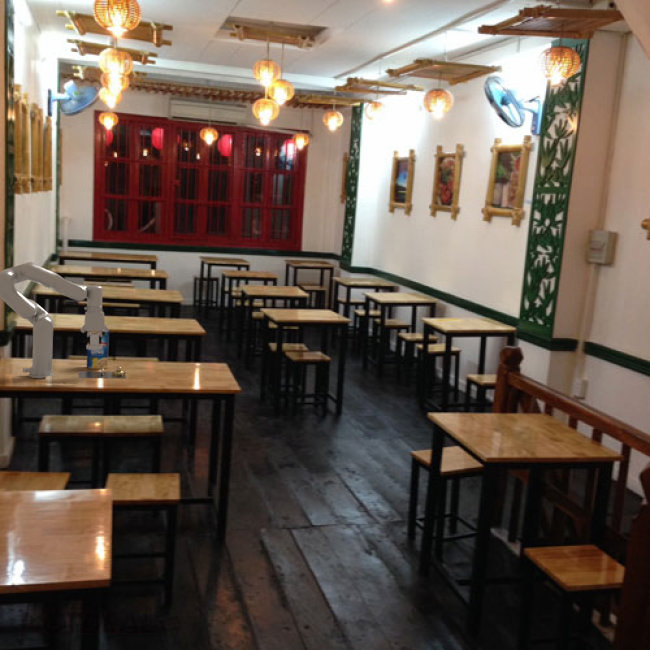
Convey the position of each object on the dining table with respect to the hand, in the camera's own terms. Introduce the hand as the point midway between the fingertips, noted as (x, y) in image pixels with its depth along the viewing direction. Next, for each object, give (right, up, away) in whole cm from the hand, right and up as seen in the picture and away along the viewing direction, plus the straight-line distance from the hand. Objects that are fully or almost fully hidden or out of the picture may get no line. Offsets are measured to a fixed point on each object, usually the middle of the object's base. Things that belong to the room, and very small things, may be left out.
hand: (94, 343), depth 404 cm
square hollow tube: (0, -3, 0) cm, 3 cm away
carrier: (+3, -18, +4) cm, 18 cm away
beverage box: (-5, -15, +23) cm, 28 cm away
